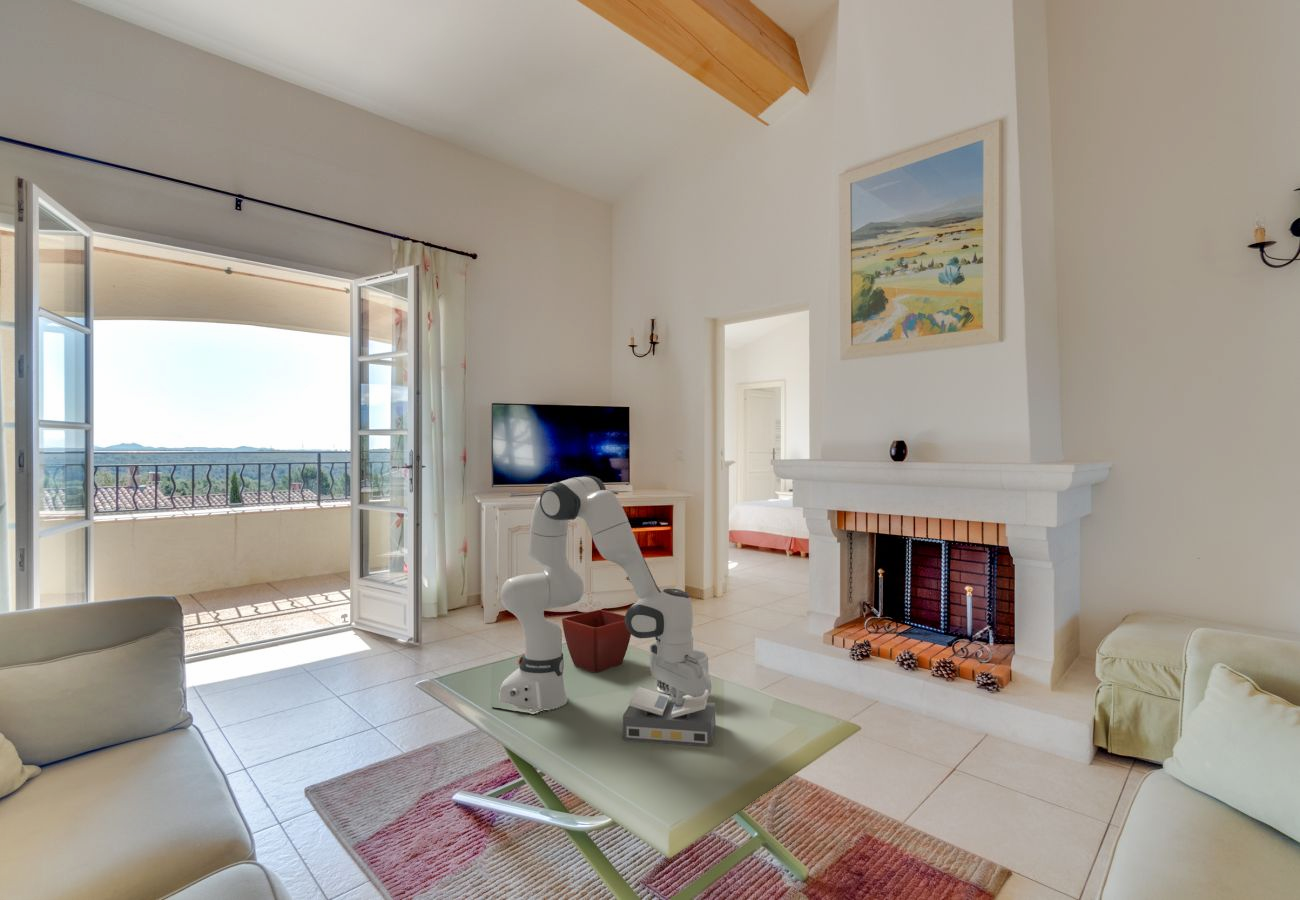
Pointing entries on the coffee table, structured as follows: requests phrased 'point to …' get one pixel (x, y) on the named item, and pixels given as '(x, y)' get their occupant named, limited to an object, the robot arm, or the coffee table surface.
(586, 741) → the coffee table surface
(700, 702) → the rocker right
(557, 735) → the coffee table surface
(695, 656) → the mug
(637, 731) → the switch console
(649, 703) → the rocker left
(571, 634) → the plant pot
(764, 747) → the coffee table surface
